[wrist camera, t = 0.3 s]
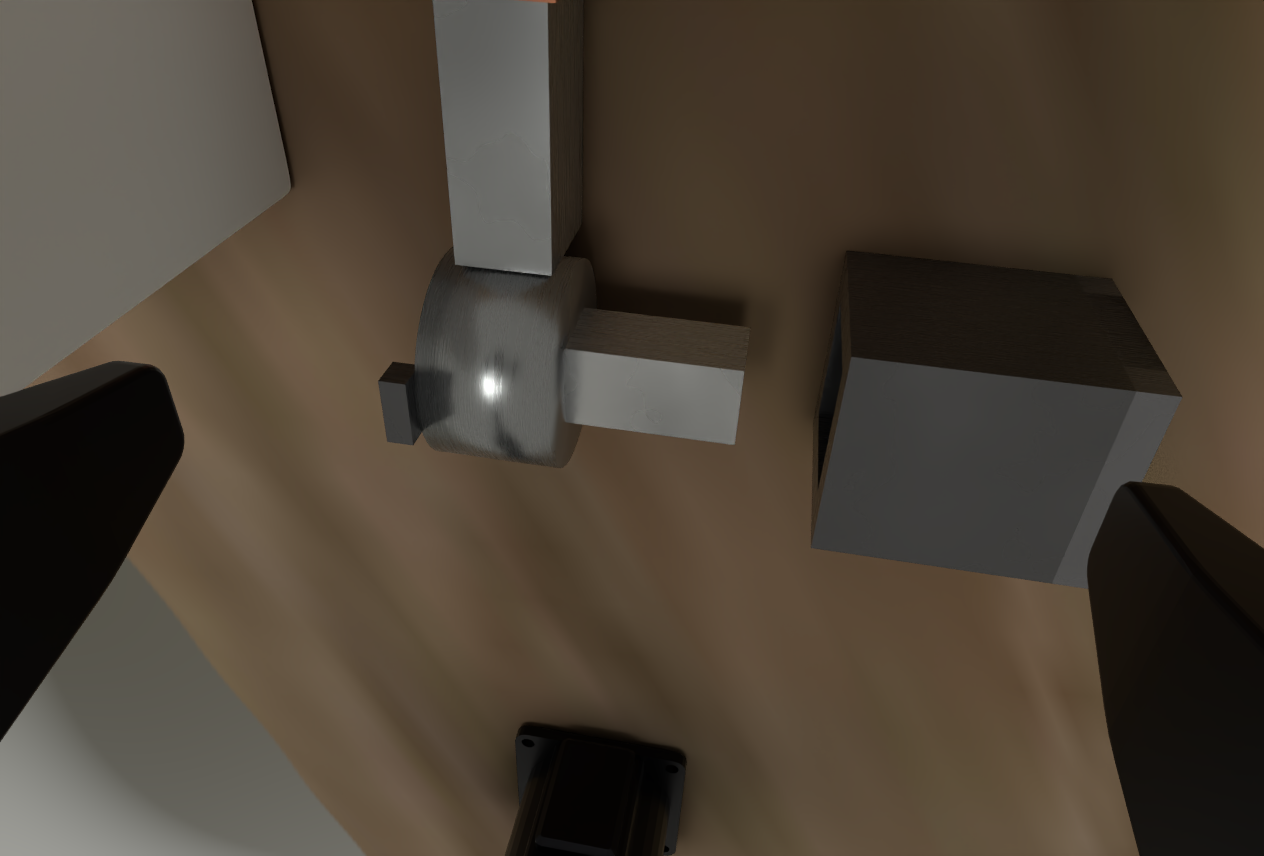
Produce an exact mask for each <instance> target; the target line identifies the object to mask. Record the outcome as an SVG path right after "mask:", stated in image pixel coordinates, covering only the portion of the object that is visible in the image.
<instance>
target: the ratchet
mask: <svg viewBox="0 0 1264 856" xmlns="http://www.w3.org/2000/svg"><path fill="white" fill-rule="evenodd" d="M433 10H434V22H435V34H436V45H437V57H438V69H439V81H440V93H441V104H442V116H443V128H444V140H445V151H446V163H447V175H448V187H449V199H450V210H451V222H452V234H453V246H454V247H452V248H451V249H450V250H449V251H448V252H447V253H446V254H445V255H444V256H443V258H442V259H441V261H440V262H439V264H438V266H437V268H436V270H435V272H434V274H433V277H432V279H431V282H430V285H429V287H428V290H427V294H426V297H425V301H424V304H423V308H422V313H421V317H420V323H419V329H418V335H417V343H416V354H415V365H414V364H406V363H398V362H392V364H391V365H390V366H389V368H388V369H387V370H386V371H385V373H384V374H383V375H382V377H381V378H380V379H379V381H378V383H379V390H380V396H381V403H382V410H383V416H384V423H385V429H386V436H387V442H393V443H400V444H407V445H414V443H415V442H416V440H417V438H418V437H419V435H420V434H421V432H422V433H423V436H424V438H425V439H426V441H427V443H428V444H429V445H430V447H432V448H433V449H434V450H437V451H442V452H449V453H456V454H463V455H470V456H477V457H484V458H491V459H498V460H505V461H512V462H520V463H527V464H534V465H541V466H548V467H555V468H563V467H564V466H565V465H566V464H567V463H568V461H569V460H570V458H571V456H572V454H573V452H574V449H575V447H576V444H577V441H578V438H579V434H580V431H581V427H582V424H583V425H590V426H598V427H605V428H612V429H620V430H627V431H635V432H642V433H649V434H657V435H664V436H672V437H679V438H686V439H694V440H701V441H709V442H716V443H724V444H731V445H735V438H736V431H737V424H738V417H739V410H740V403H741V395H742V388H743V380H744V373H745V365H746V357H747V350H748V342H749V335H750V327H743V326H735V325H726V324H718V323H709V322H701V321H692V320H684V319H676V318H667V317H659V316H650V315H642V314H633V313H625V312H617V311H608V310H600V309H597V298H596V284H595V277H594V272H593V268H592V265H591V263H590V261H589V260H588V259H586V258H578V257H569V256H564V254H565V252H566V251H567V249H568V247H569V245H570V244H571V242H572V240H573V238H574V237H575V235H576V233H577V231H578V230H579V228H580V226H581V224H582V174H583V0H433Z"/></svg>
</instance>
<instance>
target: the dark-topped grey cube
mask: <svg viewBox="0 0 1264 856" xmlns="http://www.w3.org/2000/svg"><path fill="white" fill-rule="evenodd" d="M1181 399H1182V396H1181V394H1180V392H1179V391H1178V389H1177V387H1176V386H1175V384H1174V382H1173V380H1172V379H1171V377H1170V375H1169V374H1168V372H1167V370H1166V369H1165V367H1164V365H1163V364H1162V362H1161V360H1160V359H1159V357H1158V355H1157V354H1156V352H1155V350H1154V348H1153V347H1152V345H1151V343H1150V342H1149V340H1148V338H1147V337H1146V335H1145V333H1144V332H1143V330H1142V328H1141V327H1140V325H1139V323H1138V322H1137V320H1136V318H1135V317H1134V315H1133V313H1132V311H1131V310H1130V308H1129V306H1128V305H1127V303H1126V301H1125V300H1124V298H1123V296H1122V295H1121V293H1120V291H1119V290H1118V288H1117V286H1116V285H1115V283H1114V281H1113V280H1112V279H1108V278H1098V277H1089V276H1080V275H1070V274H1061V273H1052V272H1042V271H1033V270H1024V269H1014V268H1005V267H995V266H986V265H977V264H967V263H958V262H949V261H939V260H930V259H921V258H911V257H902V256H893V255H883V254H874V253H864V252H855V251H846V256H845V261H844V267H843V272H842V277H841V282H840V287H839V293H838V298H837V303H836V308H835V313H834V319H833V324H832V329H831V334H830V339H829V345H828V350H827V355H826V360H825V366H824V371H823V376H822V381H821V386H820V392H819V397H818V402H817V407H816V412H815V418H814V423H813V473H812V522H811V548H815V549H822V550H829V551H836V552H843V553H849V554H856V555H863V556H870V557H876V558H883V559H890V560H897V561H903V562H910V563H917V564H924V565H931V566H937V567H944V568H951V569H958V570H964V571H971V572H978V573H985V574H991V575H998V576H1005V577H1012V578H1019V579H1025V580H1032V581H1039V582H1046V583H1052V584H1059V585H1066V586H1073V587H1080V588H1086V589H1088V582H1087V563H1088V557H1089V553H1090V550H1091V548H1092V545H1093V543H1094V541H1095V538H1096V536H1097V534H1098V531H1099V529H1100V527H1101V524H1102V522H1103V520H1104V517H1105V515H1106V513H1107V510H1108V508H1109V506H1110V503H1111V501H1112V499H1113V496H1114V495H1115V493H1116V491H1117V490H1118V489H1119V487H1120V486H1121V485H1123V484H1125V483H1127V482H1129V481H1136V482H1142V480H1143V478H1144V476H1145V474H1146V472H1147V470H1148V468H1149V466H1150V464H1151V461H1152V459H1153V457H1154V455H1155V453H1156V451H1157V449H1158V447H1159V445H1160V443H1161V441H1162V439H1163V436H1164V434H1165V432H1166V430H1167V428H1168V426H1169V424H1170V422H1171V420H1172V418H1173V416H1174V413H1175V411H1176V409H1177V407H1178V405H1179V403H1180V401H1181Z"/></svg>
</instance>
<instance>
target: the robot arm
mask: <svg viewBox="0 0 1264 856" xmlns="http://www.w3.org/2000/svg"><path fill="white" fill-rule="evenodd" d="M183 449H184V433H183V429H182V426H181V423H180V420H179V417H178V413H177V410H176V407H175V404H174V401H173V398H172V395H171V392H170V389H169V386H168V383H167V380H166V378H165V375H164V374H163V373H162V372H161V371H160V370H159V369H158V368H157V367H155V366H153V365H150V364H141V363H133V362H125V361H112V362H108V363H105V364H102V365H99V366H96V367H92V368H89V369H86V370H83V371H80V372H77V373H74V374H70V375H67V376H64V377H61V378H58V379H55V380H51V381H48V382H45V383H42V384H39V385H36V386H33V387H29V388H26V389H23V390H20V391H17V392H14V393H10V394H7V395H4V396H1V397H0V742H1V740H2V739H3V737H4V736H5V735H6V733H7V732H8V730H9V729H10V727H11V726H12V724H13V723H14V721H15V720H16V719H17V717H18V716H19V714H20V713H21V712H22V710H23V709H24V707H25V706H26V704H27V703H28V702H29V700H30V699H31V697H32V696H33V694H34V693H35V691H36V690H37V689H38V687H39V686H40V684H41V683H42V682H43V680H44V679H45V677H46V676H47V674H48V673H49V671H50V670H51V669H52V667H53V665H54V664H55V663H56V661H57V660H58V659H59V657H60V656H61V654H62V653H63V651H64V650H65V649H66V647H67V645H68V644H69V643H70V641H71V640H72V638H73V637H74V635H75V634H76V633H77V631H78V630H79V628H80V627H81V626H82V624H83V623H84V621H85V620H86V618H87V617H88V616H89V614H90V613H91V611H92V610H93V608H94V607H95V606H96V604H97V603H98V601H99V600H100V598H101V597H102V595H103V593H104V592H105V591H106V589H107V588H108V586H109V584H110V583H111V582H112V580H113V578H114V577H115V575H116V573H117V571H118V570H119V568H120V566H121V565H122V563H123V561H124V560H125V558H126V556H127V554H128V552H129V551H130V549H131V547H132V545H133V543H134V541H135V540H136V538H137V536H138V534H139V532H140V531H141V529H142V527H143V525H144V523H145V522H146V520H147V518H148V516H149V514H150V513H151V511H152V509H153V507H154V505H155V504H156V502H157V500H158V498H159V496H160V495H161V493H162V491H163V489H164V487H165V486H166V484H167V482H168V480H169V478H170V477H171V475H172V473H173V471H174V469H175V467H176V466H177V464H178V462H179V460H180V458H181V456H182V452H183ZM1087 582H1088V589H1089V597H1090V604H1091V612H1092V620H1093V627H1094V635H1095V642H1096V650H1097V657H1098V665H1099V673H1100V680H1101V688H1102V695H1103V703H1104V710H1105V716H1106V722H1107V728H1108V734H1109V738H1110V742H1111V747H1112V751H1113V755H1114V760H1115V764H1116V767H1117V771H1118V775H1119V779H1120V783H1121V786H1122V790H1123V794H1124V798H1125V802H1126V806H1127V809H1128V813H1129V817H1130V821H1131V825H1132V828H1133V832H1134V836H1135V840H1136V844H1137V848H1138V851H1139V855H1140V856H1264V548H1262V547H1261V546H1259V545H1258V544H1257V543H1255V542H1254V541H1252V540H1251V539H1250V538H1248V537H1247V536H1245V535H1244V534H1243V533H1241V532H1240V531H1239V530H1237V529H1236V528H1234V527H1233V526H1232V525H1230V524H1229V523H1227V522H1226V521H1225V520H1223V519H1222V518H1220V517H1219V516H1218V515H1216V514H1215V513H1213V512H1212V511H1211V510H1209V509H1208V508H1206V507H1205V506H1204V505H1202V504H1201V503H1199V502H1198V501H1197V500H1195V499H1194V498H1192V497H1191V496H1190V495H1188V494H1187V493H1185V492H1184V491H1183V490H1181V489H1179V488H1177V487H1174V486H1171V485H1162V484H1153V483H1145V482H1136V481H1129V482H1127V483H1125V484H1123V485H1121V486H1120V487H1119V489H1118V490H1117V491H1116V493H1115V495H1114V496H1113V499H1112V501H1111V503H1110V506H1109V508H1108V510H1107V513H1106V515H1105V517H1104V520H1103V522H1102V524H1101V527H1100V529H1099V531H1098V534H1097V536H1096V538H1095V541H1094V543H1093V545H1092V548H1091V550H1090V553H1089V557H1088V563H1087ZM515 744H516V760H517V776H518V791H519V810H518V814H517V817H516V820H515V824H514V827H513V830H512V833H511V837H510V840H509V843H508V847H507V850H506V853H505V856H663V855H666V856H668V855H672V854H674V853H675V851H676V844H677V836H678V828H679V820H680V812H681V804H682V796H683V788H684V780H685V771H686V763H687V761H686V758H685V757H684V756H683V755H681V754H680V753H677V752H673V751H667V750H662V749H656V748H650V747H645V746H639V745H633V744H628V743H622V742H617V741H611V740H605V739H600V738H594V737H589V736H583V735H577V734H572V733H566V732H560V731H555V730H549V729H544V728H538V727H532V726H523V727H521V728H520V729H519V731H518V734H517V737H516V740H515Z"/></svg>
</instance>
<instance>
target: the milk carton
mask: <svg viewBox="0 0 1264 856" xmlns="http://www.w3.org/2000/svg"><path fill="white" fill-rule="evenodd" d="M290 189H291V183H290V176H289V171H288V166H287V161H286V157H285V152H284V147H283V143H282V138H281V133H280V129H279V124H278V120H277V115H276V110H275V106H274V101H273V97H272V92H271V87H270V83H269V78H268V73H267V69H266V64H265V60H264V55H263V50H262V46H261V41H260V37H259V32H258V27H257V23H256V18H255V13H254V9H253V4H252V0H0V397H1V396H4V395H7V394H10V393H14V392H17V391H20V390H22V389H23V388H25V387H26V386H27V385H29V384H30V383H32V382H33V381H34V380H36V379H37V378H38V377H40V376H41V375H42V374H44V373H45V372H47V371H48V370H49V369H51V368H52V367H53V366H55V365H56V364H57V363H59V362H60V361H61V360H63V359H64V358H66V357H67V356H68V355H70V354H71V353H72V352H74V351H75V350H76V349H78V348H79V347H81V346H82V345H83V344H85V343H86V342H87V341H89V340H90V339H91V338H93V337H94V336H95V335H97V334H98V333H100V332H101V331H102V330H104V329H105V328H106V327H108V326H109V325H110V324H112V323H113V322H115V321H116V320H117V319H119V318H120V317H121V316H123V315H124V314H125V313H127V312H128V311H129V310H131V309H132V308H134V307H135V306H136V305H138V304H139V303H140V302H142V301H143V300H144V299H146V298H147V297H149V296H150V295H151V294H153V293H154V292H155V291H157V290H158V289H159V288H161V287H162V286H163V285H165V284H166V283H168V282H169V281H170V280H172V279H173V278H174V277H176V276H177V275H178V274H180V273H181V272H183V271H184V270H185V269H187V268H188V267H189V266H191V265H192V264H193V263H195V262H196V261H198V260H199V259H200V258H202V257H203V256H204V255H206V254H207V253H208V252H210V251H211V250H212V249H214V248H215V247H217V246H218V245H219V244H221V243H222V242H223V241H225V240H226V239H227V238H229V237H230V236H232V235H233V234H234V233H236V232H237V231H238V230H240V229H241V228H242V227H244V226H245V225H246V224H248V223H249V222H251V221H252V220H253V219H255V218H256V217H257V216H259V215H260V214H261V213H263V212H264V211H266V210H267V209H268V208H270V207H271V206H272V205H274V204H275V203H276V202H278V201H279V200H280V199H282V198H283V197H284V196H286V195H287V194H288V193H289V191H290Z"/></svg>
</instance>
